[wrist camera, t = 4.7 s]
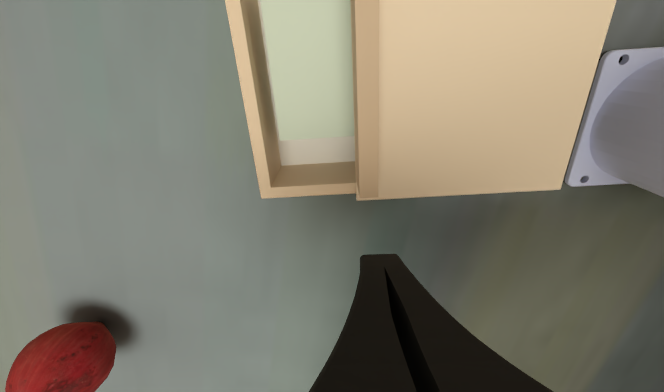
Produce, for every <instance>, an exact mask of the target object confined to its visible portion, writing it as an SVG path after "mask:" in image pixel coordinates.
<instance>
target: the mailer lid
mask: <svg viewBox="0 0 664 392" xmlns="http://www.w3.org/2000/svg"><path fill="white" fill-rule="evenodd" d="M350 2H351V36H352V69H353V103H354V137H355V170H356V198H357V201H361V200H379V199H397V198H415V197H433V196H452V195H470V194H488V193H506V192H524V191H542V190H560V189H561V186H562V182H563V179H564V176H565V172H566V169H567V166H568V162H569V159H570V155H571V152H572V149H573V145H574V142H575V139H576V135H577V132H578V128H579V125H580V122H581V118H582V115H583V112H584V108H585V105H586V101H587V98H588V95H589V91H590V88H591V85H592V81H593V78H594V74H595V71H596V68H597V64H598V61H599V58H600V54H601V51H602V48H603V44H604V41H605V37H606V34H607V31H608V27H609V24H610V21H611V17H612V14H613V10H614V7H615V4H616V0H350Z"/></svg>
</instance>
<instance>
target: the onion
mask: <svg viewBox="0 0 664 392" xmlns="http://www.w3.org/2000/svg"><path fill="white" fill-rule="evenodd" d="M115 353H116V344H115V341H114V338H113V337H112V335H111V333H110V332H109V330H108V329H107V328H106V326H105V325H104V324H103V323H101V322H98V321H96V322H78V323H69V324H63V325H60V326H57V327H55V328H52V329H50V330H48V331H46V332H44V333H42V334H41V335H39V336H38V337H36V338H35V339H34V340H32V341H31V342H30V343H28V344H27V345H26V346H25V347H24V349H23V350H22V351H21V352H20V353H19V354H18V356H17V357H16V359H15V361H14V363H13V364H12V367H11V369H10V372H9V375H8V378H7V381H6V388H5V390H6V392H95V391H96V389H97V388H98V387H99V386H100V385H101V384H102V383H103V382H104V380H105V379H106V378H107V377H108V375H109V373H110V371H111V369H112V367H113V365H114V359H115Z"/></svg>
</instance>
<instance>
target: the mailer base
mask: <svg viewBox="0 0 664 392" xmlns="http://www.w3.org/2000/svg"><path fill="white" fill-rule="evenodd" d="M225 3H226V8H227V14H228V19H229V25H230V30H231V35H232V41H233V46H234V52H235V57H236V63H237V68H238V74H239V79H240V84H241V90H242V95H243V101H244V106H245V112H246V117H247V123H248V128H249V134H250V139H251V144H252V150H253V155H254V161H255V166H256V172H257V177H258V183H259V188H260V193H261V199H262V198H280V197H298V196H316V195H333V194H351V193H356V170H355V137H354V103H353V69H352V36H351V2H350V0H225Z"/></svg>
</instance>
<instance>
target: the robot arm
mask: <svg viewBox="0 0 664 392" xmlns="http://www.w3.org/2000/svg"><path fill="white" fill-rule="evenodd" d="M621 56H623V59H622V61H621V62H620V63H619V59H620V57H621ZM583 176H584V178H583V179H582V180H580V179H581V178H582V177H583ZM565 183H566V184H568V185H570V186H573V187H576V186H594V185H612V184H630V183H631V184H633V185H635V186H638V187H640V188H643V189H645V190H647V191H650V192H652V193H654V194H657V195H659V196H662V197H664V47H652V48H638V49H623V50H611V51H608V52H606V53H605V54H604V55H603V56H602V57H601V59H600V62H599V65H598V68H597V72H596V75H595V79H594V82H593V85H592V89H591V92H590V95H589V99H588V102H587V105H586V109H585V112H584V115H583V119H582V122H581V126H580V129H579V132H578V136H577V139H576V142H575V146H574V149H573V152H572V156H571V159H570V162H569V166H568V169H567V173H566V176H565ZM309 392H553V391H552V390H550V389H548V388H547V387H545V386H544V385H542V384H541V383H539V382H538V381H536V380H534V379H533V378H531V377H530V376H528V375H527V374H525V373H524V372H522V371H521V370H519V369H518V368H516V367H515V366H514V365H512V364H511V363H509V362H508V361H507V360H505V359H504V358H502V357H501V356H500V355H498V354H497V353H496V352H494V351H493V350H492V349H490V348H489V347H488V346H486V345H485V344H484V343H482V342H481V341H480V340H479V339H477V338H476V337H475V336H474V335H472V334H471V333H470V332H469V331H468V330H467V329H465V328H464V327H463V326H462V325H461V324H460V323H459V322H457V321H456V320H455V319H454V318H453V317H452V316H451V315H450V314H449V313H448V312H447V311H446V310H445V309H444V308H443V307H442V306H441V305H440V304H439V303H438V302H437V301H436V300H435V299H434V298H433V297H432V296H431V295H430V294H429V293H428V291H427V290H426V289H425V288H424V287H423V286H422V285H421V284H420V283H419V281H418V280H417V279H416V278H415V277H414V275H413V274H412V273H411V272H410V271H409V269H408V268H407V267H406V266H405V264H404V263H403V262H402V260H401V259H400V258H399V256H398V255H397V254H376V255H363V256H361V257H360V276H359V281H358V285H357V290H356V294H355V297H354V300H353V303H352V306H351V309H350V312H349V315H348V318H347V320H346V323H345V325H344V327H343V330H342V332H341V334H340V336H339V339H338V341H337V343H336V345H335V347H334V349H333V351H332V353H331V355H330V357H329V358H328V360H327V362H326V364H325V366H324V367H323V369H322V371H321V372H320V374H319V376H318V377H317V379H316V381H315V382H314V384H313V386H312V387H311V389H310V391H309Z"/></svg>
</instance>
